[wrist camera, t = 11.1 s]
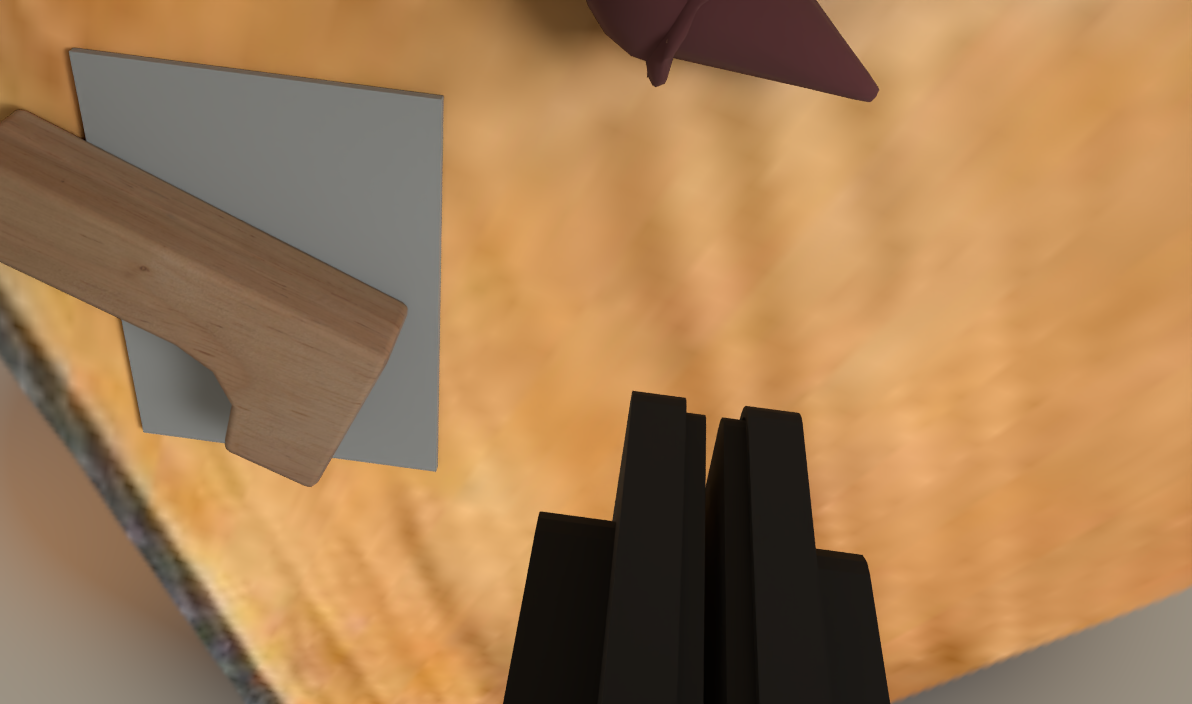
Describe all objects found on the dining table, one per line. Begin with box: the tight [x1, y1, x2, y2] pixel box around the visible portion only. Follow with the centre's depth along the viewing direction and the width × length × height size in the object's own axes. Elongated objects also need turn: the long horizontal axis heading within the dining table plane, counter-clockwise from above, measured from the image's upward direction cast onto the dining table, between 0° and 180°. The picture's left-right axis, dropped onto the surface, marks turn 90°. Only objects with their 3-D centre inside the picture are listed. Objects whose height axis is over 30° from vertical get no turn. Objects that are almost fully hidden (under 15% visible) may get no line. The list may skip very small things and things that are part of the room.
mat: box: [69, 48, 444, 472], centre depth 49 cm, size 15×20×1 cm
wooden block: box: [0, 110, 408, 487], centre depth 47 cm, size 9×4×18 cm
